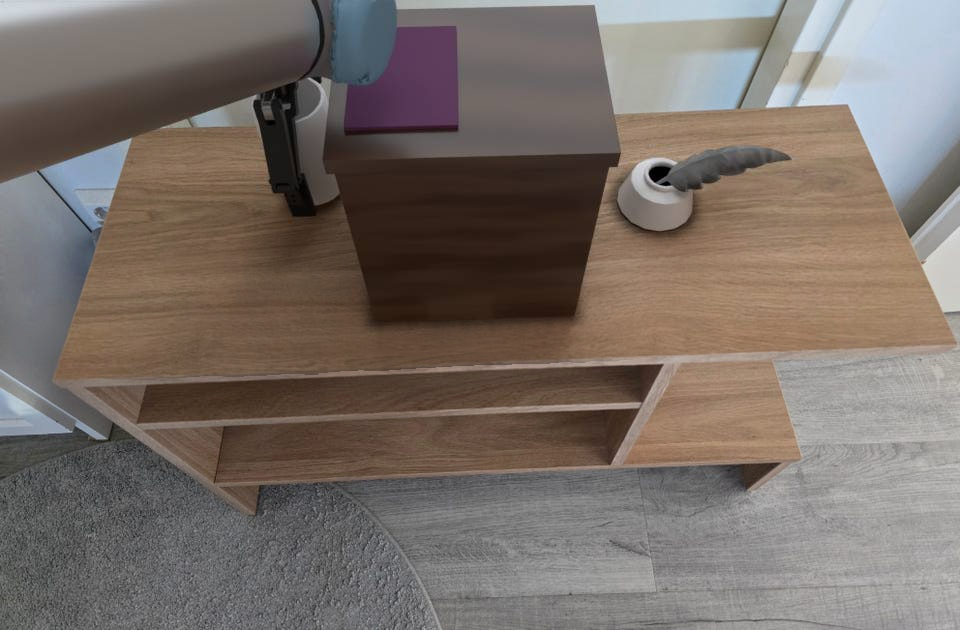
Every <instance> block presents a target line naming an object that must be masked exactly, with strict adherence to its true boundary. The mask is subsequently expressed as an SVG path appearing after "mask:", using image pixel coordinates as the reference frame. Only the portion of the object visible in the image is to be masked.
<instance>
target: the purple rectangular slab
mask: <svg viewBox="0 0 960 630" xmlns="http://www.w3.org/2000/svg"><path fill="white" fill-rule="evenodd" d="M343 128H344V131H370V130H412V129H454V128H458V85H457V31H456V26H423V27H397V28H396V37H395V43H394V48H393V51H392V55H391V58H390V60H389V63H388V65H387V67H386V69H385V71H384V72H383V74H382V75H381V76H380V77H379V79H378V80H376V81H375V82H374V83H372V84H370V85H366V86H358V85H352V84H348V86H347V97H346V107H345V117H344V127H343Z"/></svg>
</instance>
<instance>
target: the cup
mask: <svg viewBox="0 0 960 630" xmlns="http://www.w3.org/2000/svg"><path fill="white" fill-rule="evenodd" d="M298 84H299V87H298V89H297V98H298V108H299V114H298V115H297V116H296V117H295V125H296V134H297V143H298V153H299V162H300V171H301V173H304V175H305V178H306V181H307V184H308V187H309V190H310V193H311V196H312V199H313V201H314V204H315V206H319V205H323V204H326V203H329V202H331V201H332V200H334V199H336V198H337V197H338V196H339V195H340V192H339V188H338V185H337V181H336V177H335V174H326V172H325V168H324V165H323V162H322V158H323V149H324V140H325V132H326V123H327V115H328V106H329V99H328V97H327V94H326V92H325V90H324V88H323V87H322V85H321V84H319V83H318V82H316V81H315V80H313V79H311V78H307V79H304V80H301V81H298ZM254 100H261V97H260V94H257V95H254V96H252V98H251V103H250V107H251V108H250V109H251V114H252V116H253V117H252V118H253V120H254V124H255V127H256V130H257V134H258V136H259V139H260V142H261V144H262V146H263V142H262V137H261V132H260V127H259V123H258V120H257V117H256V114H255V111H254V108H253V101H254ZM283 106H284V107H285V109H290V107H291V106H290V103H289V104H283Z"/></svg>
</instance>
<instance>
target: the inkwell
mask: <svg viewBox="0 0 960 630" xmlns="http://www.w3.org/2000/svg"><path fill="white" fill-rule="evenodd" d="M792 160H793V158H792V157H791V156H790V155H788V154H787V153H785V152H783V151H779V150H777V149H774V148H771V147H768V146H760V145H753V144H744V145H728V146H722V147H718V148H716V149H706V150H704V151H702V152H700V153H698V154H692V155H690V156H689V157H687V158H686V159H684V160H683V161H681V160H680V161H678V162H677V161H675V160H672V159H670V158H666V157H652V158H646V159H644V160H642V161H640V162H639V163H637V164H636V165H635V166H634V167H633V169H632V170H631V172H630V173H629V175H628V176H627V177H626V178H625V180H624V182H623V183H622V184H621V186H620V187H619V189H618V192H617V199H616V201H617V204H618V207H619V210H620V211H621V213H622V214H623V215H624V217H625V218H627V220H628V221H629V222H630V223H631V224H634V225H636V226H637V227H640V228H642V229H644V230H649V231H655V232H663V231H670V230H675V229H676V228H678V227H680V226H682V225H683V224H685V223H687V221H688V219H689V218H690V217H691V215H692V213H693V205H694V204H693V203H694V191H697V190H700V191H701V190H702V189H703V188H704V184H707V185H709V184H715V183H717V182H718V181H720V180H721V179H722V176H723V177H733V176H739V175H741V174H744V173H746V172H747V169H756V168H759V167H762V166H765V165H766V164H773V163H778V162H787V161H788V162H789V161H792Z"/></svg>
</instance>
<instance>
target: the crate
mask: <svg viewBox="0 0 960 630" xmlns="http://www.w3.org/2000/svg"><path fill="white" fill-rule="evenodd" d="M595 6H596V5H595V4H582V5H581V4H575V5H573V4H572V5H570V4H569V5H530V6H529V5H528V6H526V5H525V6H491V7H490V6H486V7H481V6H480V7H445V8H444V7H441V8H440V7H439V8H433V7H432V8H397V27H423V26H456V31H457V85H458V128H454V129H412V130H370V131H344V128H343V127H344V117H345V107H346V97H347V86H348V84H346V83H339V84H337V83H335V82H333V80H330V81H331V82H330V90H329V91H330V92H329V99H328V102H329V106H328V115H327V123H326V132H325V140H324V149H323V158H322V162H323V165H324V168H325V172H326V174H335V177H336V181H337V185H338V188H339V192H340V194H339V195H340V199H341V202H342V203H341V204H342V206H343V209H344V213H345V217H346V220H347V224H348V228H349V232H350V235H351V239H352V243H353V246H354V249H355V253H356V256H357V261H358V264H359V268H360V271H361V275H362V279H363V282H364V286H365V290H366V292H367V297H368V300H369V304H370V307H371V308H370V309H371V311H372V314H373V318H374V322H376V323H378V322H379V323H381V322H382V323H385V322H418V321H453V320H454V321H455V320H456V321H457V320H489V319H491V320H492V319H526V318H527V319H529V318H559V317H562V318H563V317H564V318H565V317H575V316H576V313H577V307H578V304H579V300H580V299H579V298H580V295H581V292H582V291H581V290H582V286H583V282H584V278H585V273H586V268H587V265H588V260H589V256H590V252H591V247H592V244H593V238H594V236H595V230H596V226H597V222H598V218H599V213H600V209H601V205H602V202H603V201H602V200H603V196H604V192H605V188H606V183H607V179H608V175H609V170H610V168H618V167H619V164H620V160H621V155H622V150H621V144H620V139H619V132H618V128H617V127H618V126H617V122H616V116H615V111H614V106H613V105H614V104H613V100H612V94H611V88H610V83H609V78H608V73H607V67H606V61H605V54H604V49H603V44H602V38H601V34H600V28H599V22H598V15H597V11H596V7H595Z"/></svg>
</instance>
